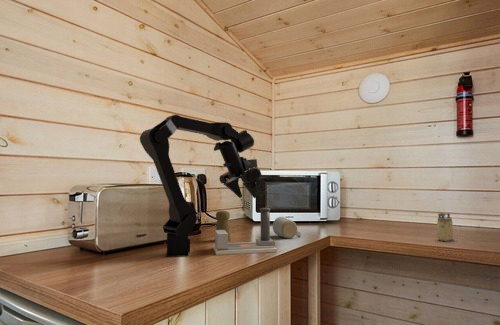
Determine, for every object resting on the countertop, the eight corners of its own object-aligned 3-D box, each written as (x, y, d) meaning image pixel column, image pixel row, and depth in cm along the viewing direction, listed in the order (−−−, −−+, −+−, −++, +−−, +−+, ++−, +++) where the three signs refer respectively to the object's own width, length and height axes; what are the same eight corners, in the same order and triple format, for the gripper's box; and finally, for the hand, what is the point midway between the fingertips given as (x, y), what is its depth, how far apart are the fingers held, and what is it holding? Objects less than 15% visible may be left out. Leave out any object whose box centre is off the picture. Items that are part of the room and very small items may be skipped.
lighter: (445, 238, 128) (444, 212, 128) (455, 239, 125) (455, 212, 125) (435, 240, 124) (435, 213, 124) (446, 241, 121) (445, 214, 121)
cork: (228, 242, 119) (228, 211, 120) (212, 242, 121) (212, 211, 121) (232, 239, 125) (232, 210, 126) (217, 239, 127) (217, 210, 127)
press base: (216, 254, 101) (216, 234, 101) (213, 247, 110) (213, 229, 111) (276, 252, 104) (276, 232, 105) (268, 245, 114) (268, 228, 114)
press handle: (259, 247, 106) (259, 209, 106) (255, 243, 111) (255, 207, 112) (274, 246, 106) (274, 209, 107) (270, 243, 112) (270, 207, 113)
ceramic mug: (281, 239, 125) (282, 219, 125) (272, 236, 133) (272, 216, 133) (306, 238, 129) (306, 218, 129) (295, 234, 137) (295, 216, 137)
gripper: (264, 146, 113) (280, 187, 116) (234, 151, 128) (249, 188, 131) (239, 158, 107) (257, 202, 110) (211, 163, 122) (227, 201, 125)
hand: (248, 197), depth 119 cm, fingers open, 9 cm apart
